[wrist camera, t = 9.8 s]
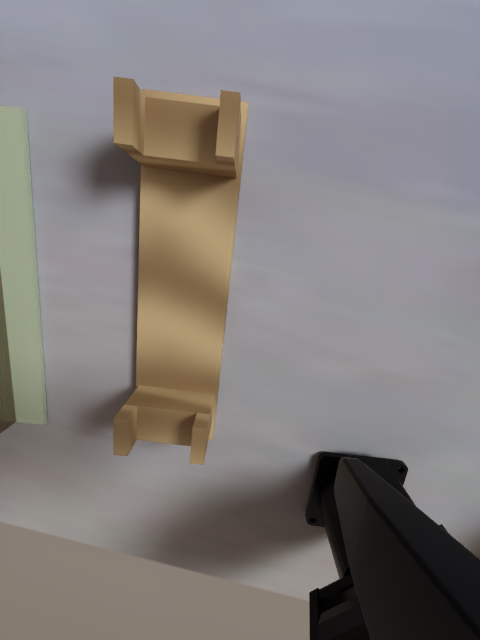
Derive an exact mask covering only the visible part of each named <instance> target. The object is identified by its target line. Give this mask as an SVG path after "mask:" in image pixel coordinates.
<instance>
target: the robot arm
mask: <svg viewBox="0 0 480 640" xmlns="http://www.w3.org/2000/svg"><path fill="white" fill-rule="evenodd" d="M325 459H328V460H326V461H324V460H325ZM400 467H401V468H400ZM398 468H400V469H398ZM407 472H408V468H407V466H406V465H405V463H404V462H403V461H399V460H391V459H382V458H373V457H364V456H355V455H346V454H337V453H329V452H324V453H321V454H320V455H319V457H318V461H317V466H316V470H315V475H314V479H313V484H312V488H311V493H310V497H309V502H308V506H307V511H306V521H307V523H308V524H309V525H313V526H322V527H325V529H326V532H327V536H328V540H329V543H330V547H331V550H332V554H333V557H334V561H335V564H336V568H337V572H338V575H339V580H337V581H335V582H333V583H331V584H329V585H327V586H325V587H323V588H321V589H318V588H317V589H315V590H313V591H311V592H310V593H309V595H310V640H480V559H479V558H477V557H476V556H475V555H474V554H473V553H471V552H470V551H469V550H468V549H467V548H465V547H464V546H463V545H462V544H461V543H459V542H458V541H457V540H456V539H455V538H453V537H452V536H451V535H450V534H449V533H448V532H447V530H446V529H445V528H444V526H443V525H442V524H441V525H438V524H437V523H435V522H434V521H433V520H432V519H430V518H429V517H428V516H427V515H426V514H424V513H423V512H422V511H421V510H420V509H418V508H417V507H416V505H415V504H414V502H413V501H412V499H411V498H410V496H409V495H408V493H407V492H406V490H405V489H404V487H403V484H404V481H405V478H406V475H407Z"/></svg>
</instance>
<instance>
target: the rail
mask: <svg viewBox="0 0 480 640" xmlns="http://www.w3.org/2000/svg"><path fill="white" fill-rule="evenodd" d="M15 422H16V415H15V405H14V395H13V386H12V376H11V366H10V357H9V347H8V337H7V328H6V318H5V308H4V299H3V289H2V279H1V269H0V433H1V432H3V431H4V430H5V429H7V428H8V427H9V426H11V425H12V424H13V423H15Z"/></svg>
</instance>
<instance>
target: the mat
mask: <svg viewBox="0 0 480 640" xmlns="http://www.w3.org/2000/svg"><path fill="white" fill-rule="evenodd" d="M0 269H1V279H2V289H3V299H4V308H5V318H6V328H7V337H8V347H9V357H10V366H11V376H12V386H13V395H14V405H15V415H16V422H20V423H29V424H37V425H45V424H46V423H47V422H48V419H47V405H46V390H45V376H44V361H43V347H42V333H41V318H40V304H39V289H38V275H37V260H36V246H35V232H34V217H33V203H32V188H31V174H30V160H29V145H28V131H27V116H26V111H25V110H23V109H21V108H17V107H9V106H1V105H0Z"/></svg>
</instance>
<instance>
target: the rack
mask: <svg viewBox="0 0 480 640" xmlns="http://www.w3.org/2000/svg"><path fill="white" fill-rule="evenodd" d="M247 114H248V102H241V98H240V93H239V92H231V91H223V90H221V95H220V99H217V98H209V97H201V96H193V95H185V94H178V93H170V92H162V91H154V90H146V89H143V93H142V92H141V90H140V89H139V87H138V86H137V84H136V83H135V81H134V80H133V79H128V78H120V77H114V144H116V145H117V146H118V147H120V148H121V149H122V150H123V151H125V152H126V153H127V154H129V155H130V156H131V157H132V158H134V159H135V160H136V161H138V162H139V163H140V164H141V184H140V229H139V273H138V317H137V361H136V390H135V391H134V392H133V394H132V395H131V396H130V398H129V399H128V400H127V402H126V403H125V404H124V405H123V407H122V408H121V409H120V411H119V412H118V413H117V415H116V416H115V417H114V455H121V456H128V454H129V453H130V451H131V449H132V447H133V445H134V444H135V442H136V440H141V441H150V442H159V443H168V444H177V445H186V446H191V453H190V463H193V464H201V465H204V459H205V454H206V449H207V444H208V440H213V434H214V424H215V415H216V405H217V396H218V387H219V377H220V368H221V358H222V349H223V340H224V330H225V321H226V311H227V302H228V293H229V283H230V274H231V264H232V255H233V246H234V236H235V227H236V217H237V208H238V199H239V189H240V180H241V170H242V161H243V152H244V142H245V133H246V123H247Z"/></svg>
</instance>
